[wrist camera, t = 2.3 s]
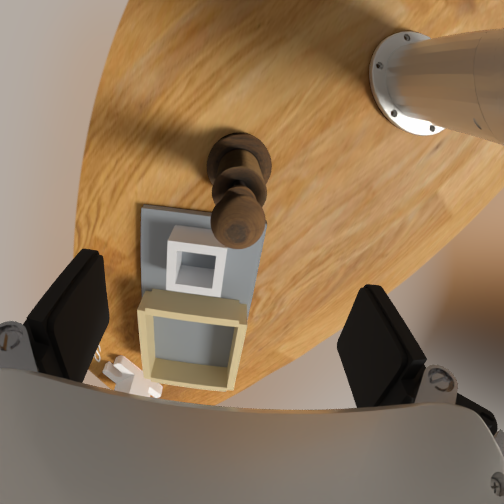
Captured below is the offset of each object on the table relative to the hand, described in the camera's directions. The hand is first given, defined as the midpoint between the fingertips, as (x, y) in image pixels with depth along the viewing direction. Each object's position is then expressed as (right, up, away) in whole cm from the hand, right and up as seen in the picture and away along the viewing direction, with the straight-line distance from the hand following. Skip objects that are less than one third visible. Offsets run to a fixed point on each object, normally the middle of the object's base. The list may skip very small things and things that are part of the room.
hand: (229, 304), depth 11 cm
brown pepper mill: (-1, +11, +21) cm, 24 cm away
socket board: (-7, -4, +29) cm, 30 cm away
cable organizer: (-20, -19, +37) cm, 46 cm away
